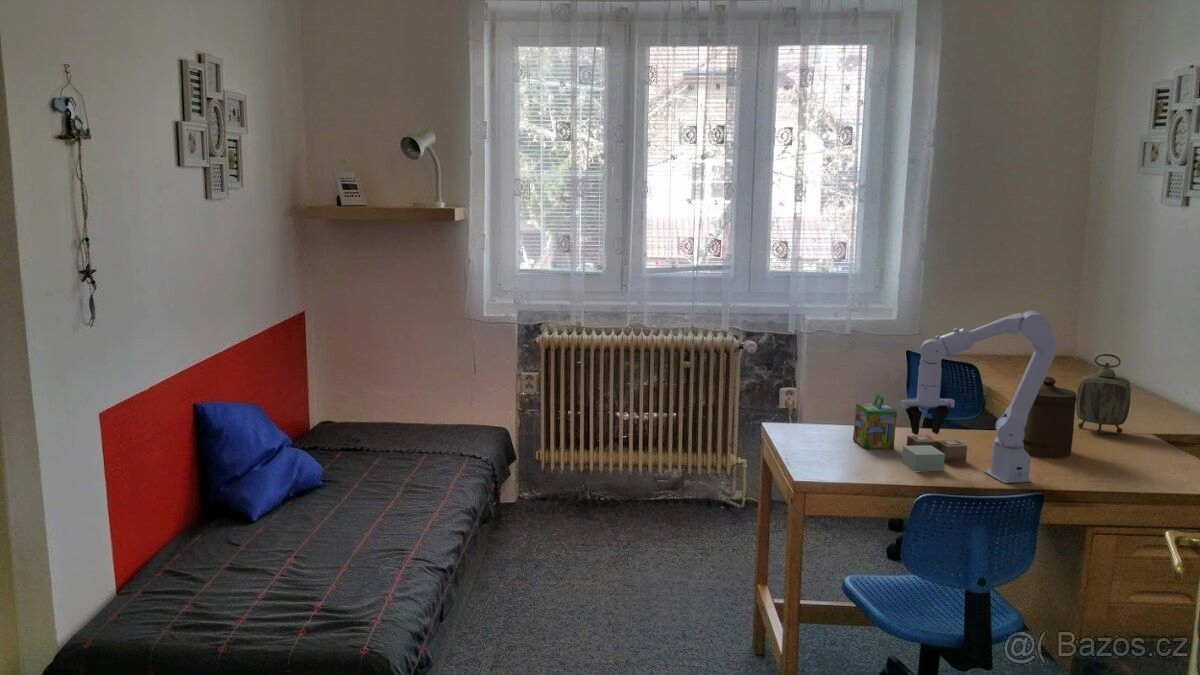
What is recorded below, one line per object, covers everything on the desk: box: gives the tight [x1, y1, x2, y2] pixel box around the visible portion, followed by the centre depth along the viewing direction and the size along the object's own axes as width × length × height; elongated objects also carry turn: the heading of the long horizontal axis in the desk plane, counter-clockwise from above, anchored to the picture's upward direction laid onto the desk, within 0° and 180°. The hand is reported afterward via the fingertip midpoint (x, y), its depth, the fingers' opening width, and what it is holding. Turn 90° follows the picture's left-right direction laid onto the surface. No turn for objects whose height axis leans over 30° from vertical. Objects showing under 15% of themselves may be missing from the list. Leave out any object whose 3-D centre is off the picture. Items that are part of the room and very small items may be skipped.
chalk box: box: [852, 394, 898, 450], centre depth 259 cm, size 9×9×15 cm
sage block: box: [901, 445, 945, 472], centre depth 240 cm, size 8×8×5 cm
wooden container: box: [1023, 376, 1077, 460], centre depth 254 cm, size 15×15×22 cm
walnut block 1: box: [906, 434, 938, 449], centre depth 251 cm, size 6×6×5 cm
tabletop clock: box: [1075, 353, 1132, 435], centre depth 274 cm, size 14×9×25 cm, turn 59°
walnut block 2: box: [935, 439, 968, 464], centre depth 247 cm, size 6×6×5 cm
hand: (925, 433), depth 239 cm, fingers open, 5 cm apart
